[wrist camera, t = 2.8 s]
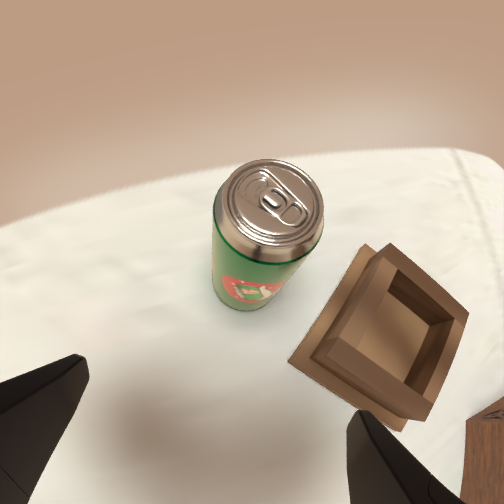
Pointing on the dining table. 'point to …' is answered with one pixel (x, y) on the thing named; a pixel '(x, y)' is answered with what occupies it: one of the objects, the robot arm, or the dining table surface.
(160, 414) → the dining table surface
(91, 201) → the dining table surface
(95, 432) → the dining table surface
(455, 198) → the dining table surface
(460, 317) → the socket block
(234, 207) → the soda can
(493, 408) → the tissue box cover
